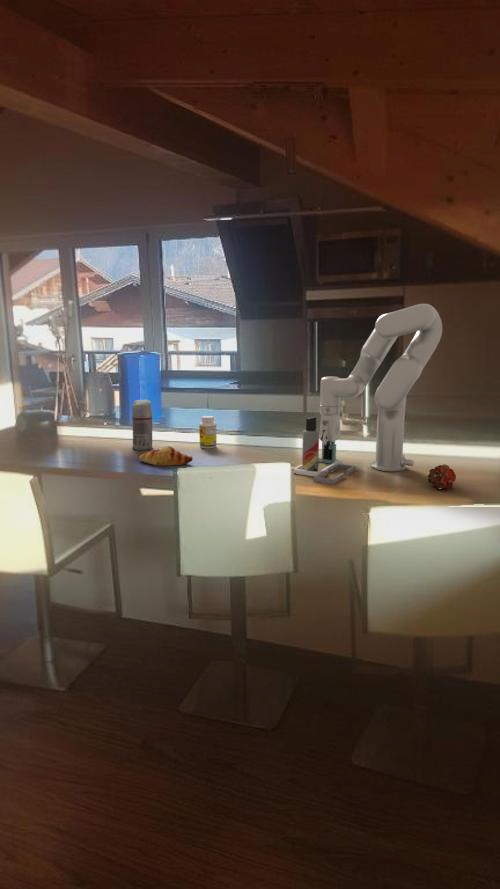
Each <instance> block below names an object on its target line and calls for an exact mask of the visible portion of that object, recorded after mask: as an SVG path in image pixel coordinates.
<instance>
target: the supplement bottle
mask: <svg viewBox="0 0 500 889" xmlns="http://www.w3.org/2000/svg"><path fill="white" fill-rule="evenodd" d="M199 447H200V448H201V449H206V450H207V449H208V450H209V449H214V448H216V447H217V423H216V421H215V417H214V415H202V416H201V422H199Z"/></svg>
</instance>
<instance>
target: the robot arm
mask: <svg viewBox="0 0 500 889" xmlns="http://www.w3.org/2000/svg"><path fill="white" fill-rule="evenodd" d="M442 323H443V322H442V318H441V317H440V314H439V312H438V310H437V309H436V308H435V307H434V306H432V305H431V304H429V303H418V304H414V305H412V306H408V307H405V308H402V309H399V310H398V309H397V310H395V311H392V312H391V311H390V312H388V313H382V314H381V315H380V316H379V317H378V318H377V319H376V321H375V324H374V329H373V330H372V332H371V333H370V335H369V337H368V338H367V340H366V341H365V343H364V344H363V346H362V348H361V350H360V355H359V356H360V357H359V359H358V361H357V363H356V364H355V366H354V368H353V370H352V371H351V373H350V374H349V376H348V377H346V378H341V377H338V376H329V375H328V376H324V377H321V379H320V389H319V390H320V393H319V396H320V397H319V398H320V399H319V415H320V424H319V441H321V446H322V445H323V449H324V453H323V459H326V460H332V449H331V444H336V442H337V440H339V439H341V416H340V415H341V402H342V398H343V399H348V400H349V399H355V398H357V397H358V396H359V395H361V394H362V393H363V392H364V390H365V389H366V388H367V386H368V385H369V383H370V381H372V378H373V376H374V375H375V374H376V372H377V370H378V368H379V367H380V366H381V364H382V362H384V360H385V357H386V356H387V355H388V353H389V352H390V350H391V348H392V346H393V345H394V343H395V342H396V340H397V339H398V337H401V336H405V335H408V334H411V333H412V334H413V333H415V334H414V336H413V338H412V339H411V341H410V343H409V344H408V346H407V348H406V349H405V350H404V352H403V354H402V355H401V356H399V358H398V359H396V360H395V361H394V362H393V363H392V365H391V366H390V368H389V370H388V372H387V373H386V375H384V378H383V379H382V381H381V382H380V384H379V386H377V389H376V391H375V394H374V402H375V405H376V406H377V408H378V409H377V421H376V424H377V425H376V440H375V441H376V443H375V461H373V462H371V464H370V466H371V468H372V469H374V470H376V471H383V472H401V471H405V470H406V469H407V466H408V467H414V465H415V462H414V460H413V459H407V458H406V457H405V455H404V452H403V451H404V450H403V449H404V434H405V431H404V430H405V418H406V417H405V416H406V415H405V414H406V406H407V395H408V394H409V392H410V390H411V389H412V388H413V386H414V384H415V383H416V381H417V380H418V379H419V378H420V376H421V374H422V373H423V371H424V368H425V367H426V365H427V363H428V362H429V360H430V359H431V357H432V355H433V354H434V352H435V350H436V349H437V347H438V345H439V343H440V341H441V339H442V334H443V324H442Z"/></svg>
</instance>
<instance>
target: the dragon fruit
mask: <svg viewBox="0 0 500 889" xmlns="http://www.w3.org/2000/svg"><path fill="white" fill-rule="evenodd" d="M427 477H428V478H427V482H428V483H429V484H431V485H432V486H433V487H434V486H435V487H434V488H436V487H437V488H444V489H445V488H446V489H450V488H451V489H453V486H454V482H455V481H456V479H457V475H456V473H455V471H454V470H453V469H452V468H451V467H450V466H449V465H447V464H444V463H442V465H441V464H439V465H437V466H435V467H434V468H431V469H429V473H428V475H427ZM437 488H436V489H437Z"/></svg>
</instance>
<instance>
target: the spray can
mask: <svg viewBox="0 0 500 889" xmlns="http://www.w3.org/2000/svg"><path fill="white" fill-rule="evenodd" d="M152 409H153V408H152V401H151V400H149V399H147V398H145V399H136V400H134V401H133V403H132V409H131V411H132V414H131V415H132V416H131V418H132V419H131V421H132V422H131V424H132V449H133V450H137V451H147V450H151V449H152V450H153V410H152Z"/></svg>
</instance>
